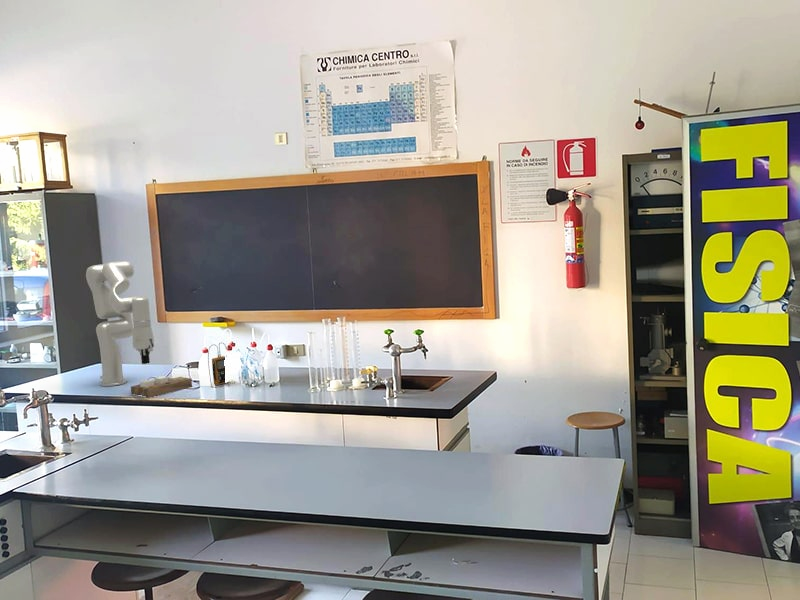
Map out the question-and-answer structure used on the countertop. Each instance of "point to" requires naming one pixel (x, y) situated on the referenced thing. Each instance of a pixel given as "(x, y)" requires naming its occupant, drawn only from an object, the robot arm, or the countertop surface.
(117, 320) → the robot arm
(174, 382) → the button board
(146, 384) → the button
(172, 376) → the button
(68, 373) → the countertop surface
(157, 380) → the middle button
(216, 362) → the multimeter
